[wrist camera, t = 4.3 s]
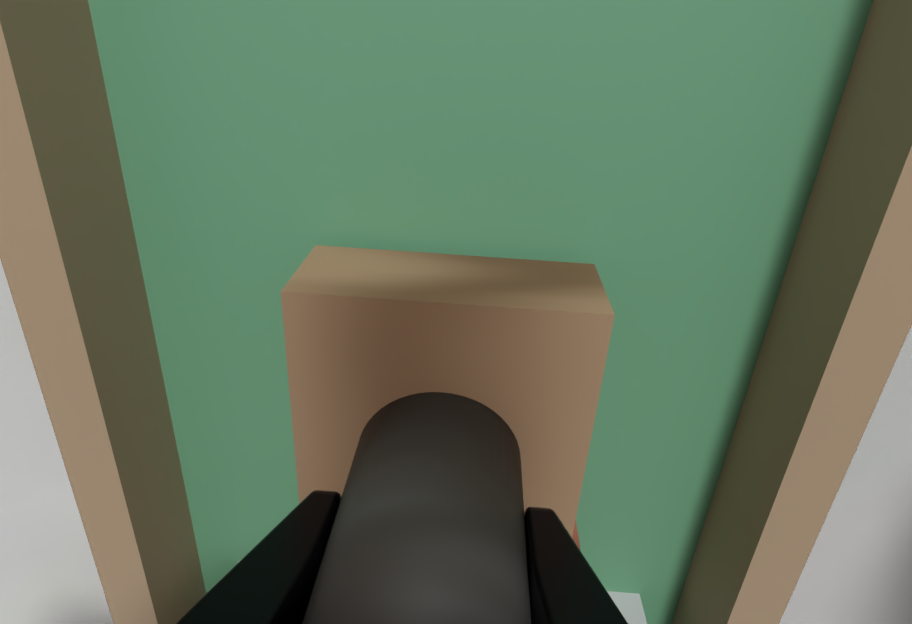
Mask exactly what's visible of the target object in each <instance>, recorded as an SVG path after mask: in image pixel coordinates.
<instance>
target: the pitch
mask: <svg viewBox="0 0 912 624" xmlns="http://www.w3.org/2000/svg"><path fill="white" fill-rule="evenodd" d="M315 245H321V246H336V247H350V248H365V249H380V250H395V251H409V252H424V253H439V254H454V255H468V256H483V257H498V258H513V259H527V260H542V261H557V262H572V263H586V264H594V265H595V267H596V270H597V272H598V275H599V277H600V280H601V282H602V284H603V287H604V289H605V292H606V294H607V297H608V299H609V302H610V304H611V307H612V309H613V312H614V314H615V316H614V321H613V326H612V332H611V337H610V342H609V347H608V353H607V358H606V363H605V368H604V374H603V379H602V384H601V389H600V394H599V400H598V405H597V410H596V415H595V421H594V426H593V431H592V436H591V442H590V447H589V452H588V457H587V462H586V468H585V473H584V478H583V483H582V489H581V494H580V499H579V504H578V510H577V515H576V525H577V531H578V537H579V543H580V549H581V552H582V554H583V556H584V557H585V559H586V560H587V562H588V563H589V565H590V566H591V568H592V569H593V571H594V572H595V574H596V575H597V577H598V578H599V580H600V581H601V583H602V585H603V586H604V588H605V589H606V591H607V592H608V594H609V595H610V597H611V598H612V600H613V601H614V603H615V604H616V606H617V607H618V609H619V611H620V612H621V614H622V615H623V617H624V618H625V620H626V621H627V623H628V624H779V622H780V620H781V618H782V615H783V613H784V611H785V609H786V606H787V604H788V602H789V600H790V597H791V595H792V593H793V591H794V588H795V586H796V584H797V582H798V579H799V577H800V575H801V573H802V570H803V568H804V566H805V564H806V561H807V559H808V557H809V555H810V552H811V550H812V548H813V546H814V543H815V541H816V539H817V537H818V535H819V532H820V530H821V528H822V526H823V523H824V521H825V519H826V517H827V514H828V512H829V510H830V508H831V505H832V503H833V501H834V499H835V496H836V494H837V492H838V490H839V487H840V485H841V483H842V481H843V478H844V476H845V474H846V472H847V469H848V467H849V465H850V463H851V460H852V458H853V456H854V454H855V451H856V449H857V447H858V445H859V442H860V440H861V438H862V436H863V433H864V431H865V429H866V427H867V424H868V422H869V420H870V418H871V415H872V413H873V411H874V409H875V406H876V404H877V402H878V400H879V397H880V395H881V393H882V391H883V388H884V386H885V384H886V382H887V379H888V377H889V375H890V373H891V370H892V368H893V366H894V364H895V361H896V359H897V357H898V355H899V352H900V350H901V348H902V346H903V343H904V341H905V339H906V337H907V334H908V332H909V330H910V328H911V325H912V0H0V259H1V262H2V265H3V268H4V272H5V275H6V278H7V281H8V284H9V288H10V291H11V294H12V297H13V301H14V304H15V307H16V310H17V313H18V317H19V320H20V323H21V326H22V330H23V333H24V336H25V339H26V342H27V346H28V349H29V352H30V355H31V358H32V362H33V365H34V368H35V371H36V375H37V378H38V381H39V384H40V387H41V391H42V394H43V397H44V400H45V403H46V407H47V410H48V413H49V416H50V420H51V423H52V426H53V429H54V432H55V436H56V439H57V442H58V445H59V448H60V452H61V455H62V458H63V461H64V465H65V468H66V471H67V474H68V477H69V481H70V484H71V487H72V490H73V493H74V497H75V500H76V503H77V506H78V510H79V513H80V516H81V519H82V522H83V526H84V529H85V532H86V535H87V538H88V542H89V545H90V548H91V551H92V555H93V558H94V561H95V564H96V567H97V571H98V574H99V577H100V580H101V584H102V587H103V590H104V593H105V596H106V600H107V603H108V606H109V609H110V612H111V616H112V619H113V622H114V624H175V623H176V622H177V621H178V620H180V619H181V618H182V617H183V616H184V615H185V614H186V613H187V612H188V611H189V610H190V609H191V608H192V607H193V606H194V605H195V604H196V603H197V602H198V601H199V600H200V599H201V598H202V597H203V596H204V595H205V594H206V593H207V592H209V591H210V590H211V589H212V588H213V587H214V586H215V585H216V584H217V583H218V582H219V581H220V580H221V579H222V578H223V577H224V576H225V575H226V574H227V573H228V572H229V571H230V570H231V569H232V568H233V567H234V566H235V565H236V564H237V563H239V562H240V561H241V560H242V559H243V558H244V557H245V556H246V555H247V554H248V553H249V552H250V551H251V550H252V549H253V548H254V547H255V546H256V545H257V544H258V543H259V542H260V541H261V540H262V539H263V538H264V537H265V536H266V535H268V534H269V533H270V532H271V531H272V530H273V529H274V528H275V527H276V526H277V525H278V524H279V523H280V522H281V521H282V520H283V519H284V518H285V517H286V516H287V515H288V514H289V513H290V512H291V511H292V510H293V509H294V508H295V507H296V506H298V505H299V495H298V484H297V472H296V461H295V450H294V438H293V427H292V416H291V404H290V393H289V382H288V370H287V359H286V348H285V337H284V325H283V314H282V303H281V290H282V289H283V287H284V286H285V285H286V283H287V282H288V281H289V280H290V278H291V277H292V276H293V274H294V273H295V272H296V270H297V269H298V268H299V266H300V265H301V264H302V262H303V261H304V260H305V258H306V257H307V256H308V254H309V253H310V252H311V250H312V249H313V248H314V246H315Z"/></svg>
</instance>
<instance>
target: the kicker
mask: <svg viewBox="0 0 912 624" xmlns="http://www.w3.org/2000/svg"><path fill="white" fill-rule="evenodd" d="M281 303H282V314H283V325H284V337H285V348H286V359H287V370H288V382H289V393H290V404H291V416H292V427H293V438H294V450H295V461H296V472H297V484H298V495H299V504H300V503H301V502H302V501H303V500H304V499H305V498H306V497H307V496H308V495H309V494H310V493H311V492H313V491H315V490H323V491H336V492H338V493H339V494H340V496H341V500H340V503H339V507H338V510H337V513H336V516H335V519H334V523H333V526H332V529H331V532H330V536H329V539H328V542H327V545H326V548H325V552H324V555H323V558H322V561H321V565H320V568H319V571H318V574H317V577H316V581H315V584H314V587H313V590H312V594H311V597H310V600H309V603H308V606H307V610H306V613H305V616H304V619H303V622H302V624H531V612H530V596H529V580H528V565H527V549H526V533H525V518H524V514H525V510H526V509H527V508H528V507H541V508H550V509H552V510H554V511H555V513H556V514H557V516H558V517H559V519H560V520H561V522H562V523H563V525H564V526H565V528H566V530H567V531H568V533H569V534H570V536H571V537H572V539H573V540H574V542H575V543H576V545H577V546H578V548H579V549H580V543H579V537H578V531H577V525H576V515H577V510H578V504H579V499H580V494H581V489H582V483H583V478H584V473H585V468H586V462H587V457H588V452H589V447H590V442H591V436H592V431H593V426H594V421H595V415H596V410H597V405H598V400H599V394H600V389H601V384H602V379H603V374H604V368H605V363H606V358H607V353H608V347H609V342H610V337H611V332H612V326H613V321H614V316H615V314H614V312H613V309H612V307H611V304H610V302H609V299H608V297H607V294H606V292H605V289H604V287H603V284H602V282H601V280H600V277H599V275H598V272H597V270H596V267H595V265H594V264H586V263H572V262H557V261H542V260H527V259H513V258H498V257H483V256H468V255H454V254H439V253H424V252H409V251H395V250H380V249H365V248H350V247H336V246H321V245H315V246H314V248H313V249H312V250H311V252H310V253H309V254H308V256H307V257H306V258H305V260H304V261H303V262H302V264H301V265H300V266H299V268H298V269H297V270H296V272H295V273H294V274H293V276H292V277H291V278H290V280H289V281H288V282H287V283H286V285H285V286H284V287H283V289H282V290H281ZM580 551H581V549H580Z"/></svg>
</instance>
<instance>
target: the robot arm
mask: <svg viewBox="0 0 912 624" xmlns="http://www.w3.org/2000/svg"><path fill="white" fill-rule="evenodd" d="M340 500H341V496H340V494H339V493H338V492H336V491H323V490H315V491H313V492H311V493H310V494H309V495H308V496H307V497H306V498H305V499H304V500H303V501H302V502H301V503H300V504H299V505H298V506H296V507H295V508H294V509H293V510H292V511H291V512H290V513H289V514H288V515H287V516H286V517H285V518H284V519H283V520H282V521H281V522H280V523H279V524H278V525H277V526H276V527H275V528H274V529H273V530H272V531H271V532H270V533H269V534H268V535H266V536H265V537H264V538H263V539H262V540H261V541H260V542H259V543H258V544H257V545H256V546H255V547H254V548H253V549H252V550H251V551H250V552H249V553H248V554H247V555H246V556H245V557H244V558H243V559H242V560H241V561H240V562H239V563H237V564H236V565H235V566H234V567H233V568H232V569H231V570H230V571H229V572H228V573H227V574H226V575H225V576H224V577H223V578H222V579H221V580H220V581H219V582H218V583H217V584H216V585H215V586H214V587H213V588H212V589H211V590H210V591H209V592H207V593H206V594H205V595H204V596H203V597H202V598H201V599H200V600H199V601H198V602H197V603H196V604H195V605H194V606H193V607H192V608H191V609H190V610H189V611H188V612H187V613H186V614H185V615H184V616H183V617H182V618H181V619H180V620H178V621H177V622H176V623H175V624H302V622H303V619H304V616H305V613H306V610H307V606H308V603H309V600H310V597H311V594H312V590H313V587H314V584H315V581H316V577H317V574H318V571H319V568H320V565H321V561H322V558H323V555H324V552H325V548H326V545H327V542H328V539H329V536H330V532H331V529H332V526H333V523H334V519H335V516H336V513H337V510H338V507H339V503H340ZM524 518H525V533H526V549H527V565H528V580H529V596H530V612H531V624H628V623H627V621H626V620H625V618H624V617H623V615H622V614H621V612H620V611H619V609H618V607H617V606H616V604H615V603H614V601H613V600H612V598H611V597H610V595H609V594H608V592H607V591H606V589H605V588H604V586H603V585H602V583H601V581H600V580H599V578H598V577H597V575H596V574H595V572H594V571H593V569H592V568H591V566H590V565H589V563H588V562H587V560H586V559H585V557H584V556H583V554H582V552H581V551H580V549H579V548H578V546H577V545H576V543H575V542H574V540H573V539H572V537H571V536H570V534H569V533H568V531H567V530H566V528H565V526H564V525H563V523H562V522H561V520H560V519H559V517H558V516H557V514H556V513H555V511H554V510H552V509H550V508H541V507H528V508H527V509H526V510H525V514H524Z"/></svg>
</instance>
